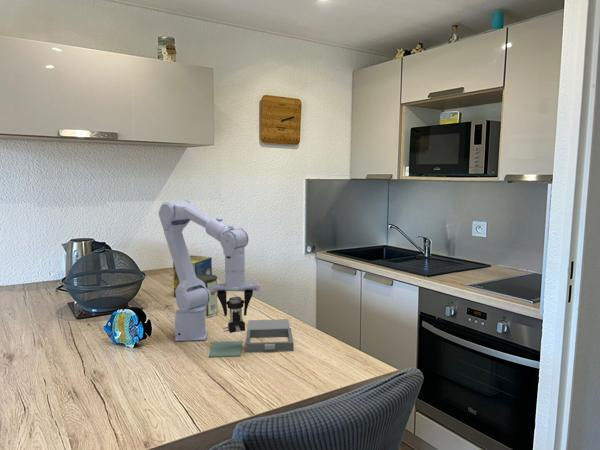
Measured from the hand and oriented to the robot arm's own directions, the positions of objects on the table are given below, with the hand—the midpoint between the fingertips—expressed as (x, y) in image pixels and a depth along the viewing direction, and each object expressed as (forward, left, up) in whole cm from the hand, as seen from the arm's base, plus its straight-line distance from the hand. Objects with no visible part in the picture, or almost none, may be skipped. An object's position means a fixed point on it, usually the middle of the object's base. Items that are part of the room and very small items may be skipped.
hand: (235, 314), depth 137 cm
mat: (-3, -1, -10) cm, 11 cm away
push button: (0, 0, -5) cm, 5 cm away
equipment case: (+10, +9, -10) cm, 17 cm away
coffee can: (-14, +35, -11) cm, 39 cm away
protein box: (-22, +65, -11) cm, 69 cm away
